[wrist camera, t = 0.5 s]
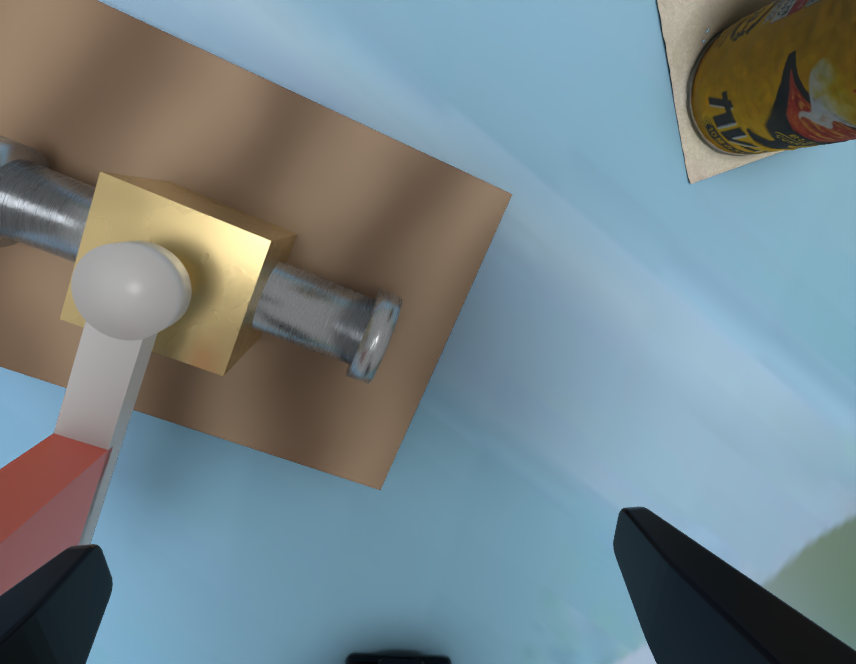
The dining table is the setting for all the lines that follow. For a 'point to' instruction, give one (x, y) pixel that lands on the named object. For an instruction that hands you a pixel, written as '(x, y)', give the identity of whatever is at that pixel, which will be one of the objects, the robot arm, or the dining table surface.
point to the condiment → (759, 77)
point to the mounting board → (253, 194)
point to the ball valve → (196, 264)
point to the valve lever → (90, 404)
